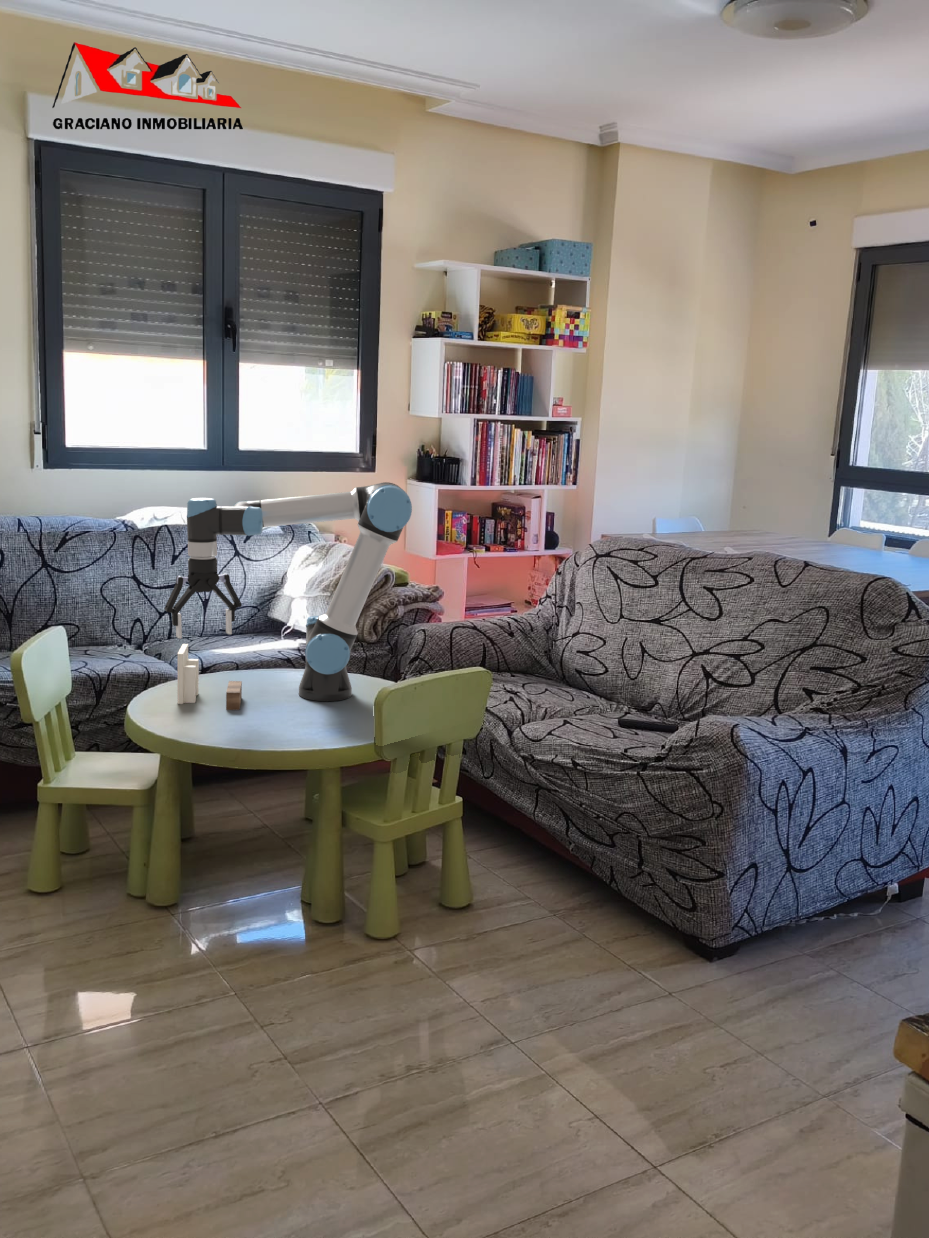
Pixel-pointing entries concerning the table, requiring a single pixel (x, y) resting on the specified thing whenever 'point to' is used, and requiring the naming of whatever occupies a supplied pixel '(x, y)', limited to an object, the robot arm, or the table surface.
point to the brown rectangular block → (233, 695)
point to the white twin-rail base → (187, 677)
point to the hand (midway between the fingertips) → (204, 635)
